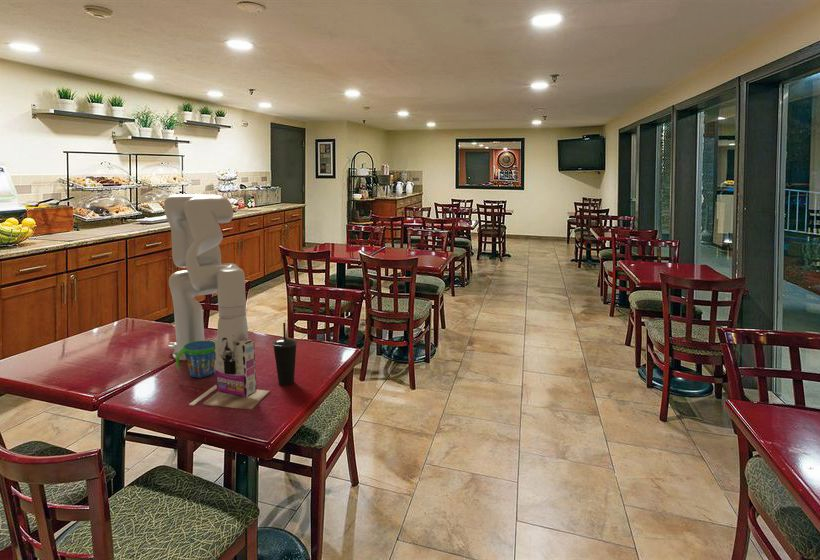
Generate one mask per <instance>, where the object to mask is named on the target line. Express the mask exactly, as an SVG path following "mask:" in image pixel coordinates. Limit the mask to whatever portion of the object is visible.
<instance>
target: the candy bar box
mask: <svg viewBox="0 0 820 560" xmlns="http://www.w3.org/2000/svg"><path fill="white" fill-rule="evenodd" d="M213 342H214V349H215V377H216V379H215V380H216V382H215V383H216V385H217V389H216V392H222V393H226V394H231V395H236V396H240V397H245V398H246V397H248V396H250V395H252V394H254V393H255V392H256V390H257V377H256V376H257V375H256V373H257V372H256V354H255V352H256V351H255V339H250V338H248V339H245V338H244V339H242V340H241V341H239V342H237V343H236V351H234V360H233V361H235V371H236V373H235V374H234V375H232V374H225V373H224V361H223V359H222V358H221V357H220V356H219V351H218V347H217V338H214V339H213ZM227 350H229V351H230V349H229V348H227ZM230 354H231V353H227V355H229V356H230Z"/></svg>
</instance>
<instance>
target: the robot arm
mask: <svg viewBox="0 0 820 560" xmlns="http://www.w3.org/2000/svg"><path fill="white" fill-rule="evenodd" d="M163 208H164V209H163V211H164V214H165V216H166V219H167V222H168V224H169V227H170V232H171V254H172V255H171V256H172V262H173V264H174V265H175V266H176V267H179V268H181V269H182V268H184V269H183V270H179V271H176V272H173V273H172V274H171V275H170V276H169V278H168V286H169V289H170V290H169V291H170V296H171V299H172V304H173V306H172V307H173V315H174V327H175V328H174V329H175V330H174V331H175V342H174V341H173V342H172V341H170V342H169V343H168V346H167V349H169V350H174V351H173V352H172V358H174V360H176V357H177V354H178V353H179V351H180V350H182V349H183V346H184V345H186V344H188V343H191V342H196V341H206V339H205V326H204V311H203V306H202V304H201V303H200V302H199V301H198V300H196V298H195V297H198V296H206V295H213V294H217V306H218V309H217V310H218V319H217V321H218V322H217V330H216V331H217V332H216V335H217V336H216V339H217V347H218V351H219V356H220V357H221V358H222V359H223V361H224V373H225V374H232V375H234V374H235V373H236V371H235V361H233V360H234V351H236V343H237V342H239V341H241V340H242V339H244V338H245V339H249V329H248V320H247V303H246V302H247V301H246V300H247V299H246V297H247V296H246V277H245V275H246V274H245V272H244V269H242V268H241V267H239V266H238V264H236V263H233V262H227V263H222V253H221V248H220V246H219V245H220V244H221V243H222V241H223V237H224V235H223V232H222V230H221V227H220V224H223V223H225V224H226V223H230V222H232V220H233V216H234V209H233V205H232V204H231V201H230V200H229V199H228V198H227V197H225V196H222V195H218V194H173V195H172V194H171V195H169V196H168V197H166V198H165V199H164V203H163ZM185 268H186V269H185ZM227 348H229V349H230V351H229V350H227ZM227 353H231V354H230V356H229V355H227ZM179 361H187V360H186V356H185V353H183V354H182V355H181V356H180V357H179Z"/></svg>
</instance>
